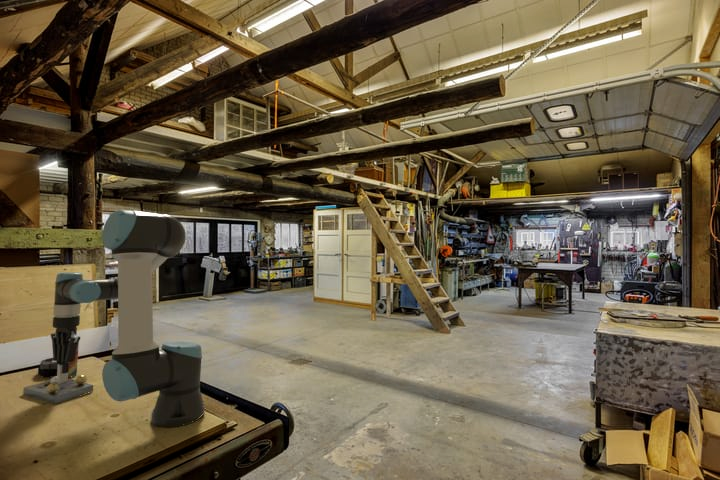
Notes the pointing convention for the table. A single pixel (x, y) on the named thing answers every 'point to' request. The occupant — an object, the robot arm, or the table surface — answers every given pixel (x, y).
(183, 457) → the table surface
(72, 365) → the lotion bottle
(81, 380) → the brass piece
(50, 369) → the cpu cooler
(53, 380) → the steel ball
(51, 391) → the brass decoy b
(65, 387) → the bearing plate
